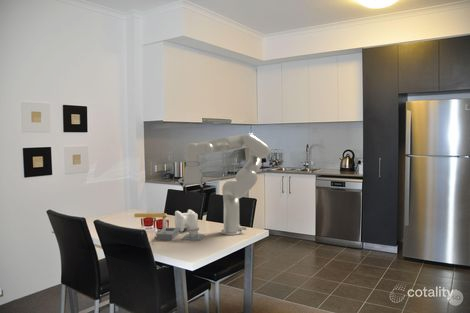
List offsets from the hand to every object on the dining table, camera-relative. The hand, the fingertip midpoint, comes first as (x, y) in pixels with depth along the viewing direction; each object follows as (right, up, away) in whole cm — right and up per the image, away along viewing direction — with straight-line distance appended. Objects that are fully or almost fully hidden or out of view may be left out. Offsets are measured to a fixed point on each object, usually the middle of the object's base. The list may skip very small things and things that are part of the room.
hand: (193, 193), depth 220 cm
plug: (0, -25, +1) cm, 25 cm away
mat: (0, -26, +1) cm, 26 cm away
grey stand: (-15, -26, +3) cm, 30 cm away
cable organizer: (-7, -25, +20) cm, 33 cm away
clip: (-23, -13, -5) cm, 27 cm away
